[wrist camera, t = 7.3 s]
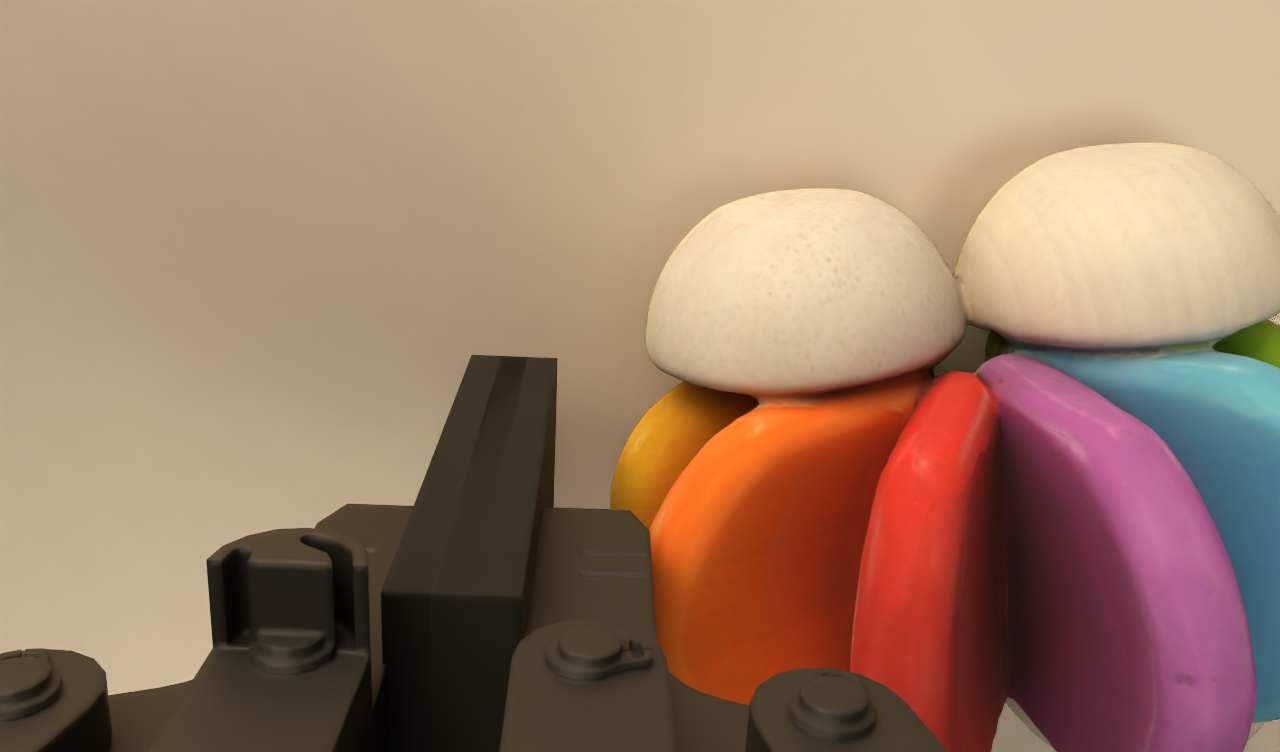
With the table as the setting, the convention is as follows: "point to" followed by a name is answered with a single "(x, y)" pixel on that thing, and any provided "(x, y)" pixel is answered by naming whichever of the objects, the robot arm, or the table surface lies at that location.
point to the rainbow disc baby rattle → (980, 453)
